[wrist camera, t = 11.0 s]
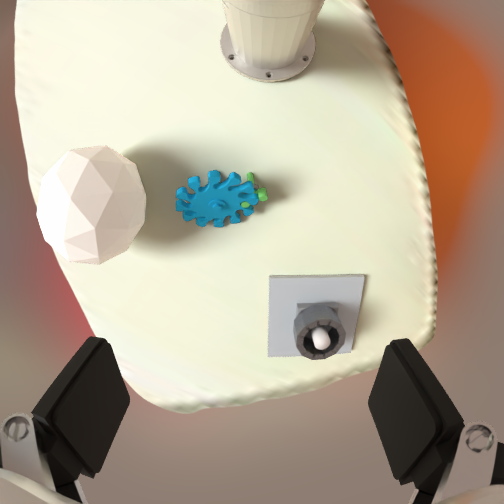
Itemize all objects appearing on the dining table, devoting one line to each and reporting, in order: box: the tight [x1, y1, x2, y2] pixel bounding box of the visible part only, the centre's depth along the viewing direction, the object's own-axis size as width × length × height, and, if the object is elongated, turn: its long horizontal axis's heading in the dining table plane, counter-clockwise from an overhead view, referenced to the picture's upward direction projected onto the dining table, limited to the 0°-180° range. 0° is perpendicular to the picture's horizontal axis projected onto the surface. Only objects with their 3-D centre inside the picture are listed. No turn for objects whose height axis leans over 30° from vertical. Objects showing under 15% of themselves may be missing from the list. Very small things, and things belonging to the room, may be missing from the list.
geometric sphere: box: [37, 146, 147, 264], centre depth 30 cm, size 14×15×15 cm
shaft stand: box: [268, 274, 364, 357], centre depth 39 cm, size 14×14×7 cm
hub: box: [293, 304, 346, 360], centre depth 38 cm, size 7×7×4 cm
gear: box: [176, 170, 268, 227], centre depth 34 cm, size 11×6×10 cm
